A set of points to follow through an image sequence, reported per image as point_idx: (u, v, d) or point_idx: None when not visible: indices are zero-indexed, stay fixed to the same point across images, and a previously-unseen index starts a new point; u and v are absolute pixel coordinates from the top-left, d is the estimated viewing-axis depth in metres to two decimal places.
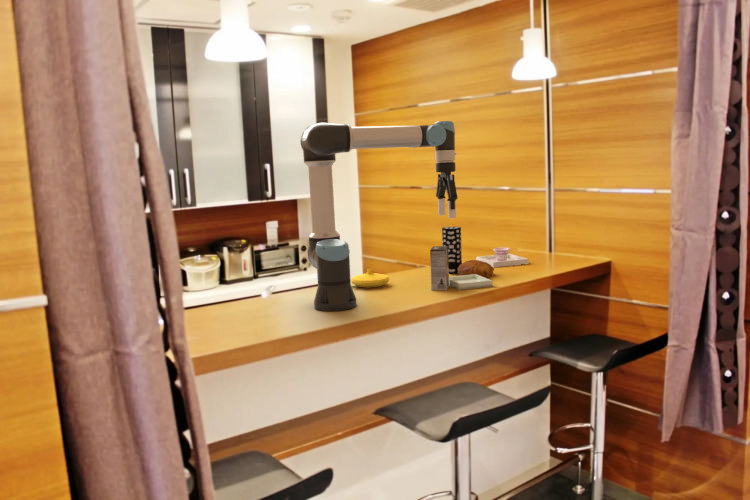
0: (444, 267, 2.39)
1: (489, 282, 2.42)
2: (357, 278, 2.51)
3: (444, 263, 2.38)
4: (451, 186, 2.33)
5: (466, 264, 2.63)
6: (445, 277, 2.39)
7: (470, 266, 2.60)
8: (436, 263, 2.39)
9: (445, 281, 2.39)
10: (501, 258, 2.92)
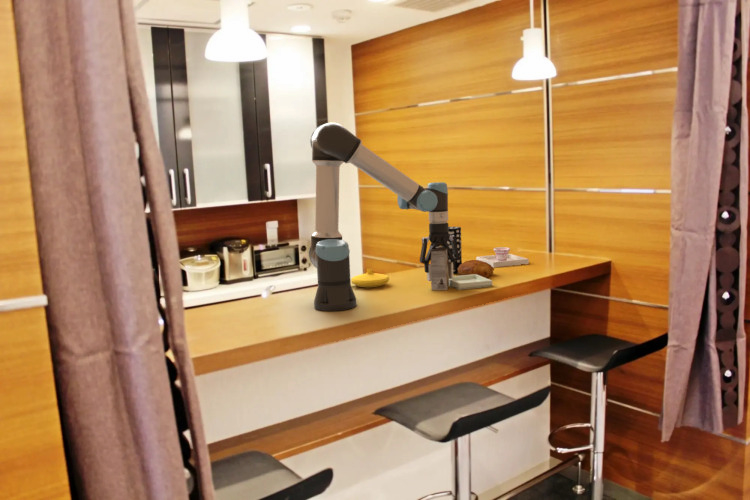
0: (444, 267, 2.39)
1: (489, 282, 2.42)
2: (357, 278, 2.51)
3: (444, 263, 2.38)
4: (422, 249, 2.41)
5: (466, 264, 2.63)
6: (445, 277, 2.39)
7: (470, 266, 2.60)
8: (436, 263, 2.39)
9: (445, 281, 2.39)
10: (501, 258, 2.92)
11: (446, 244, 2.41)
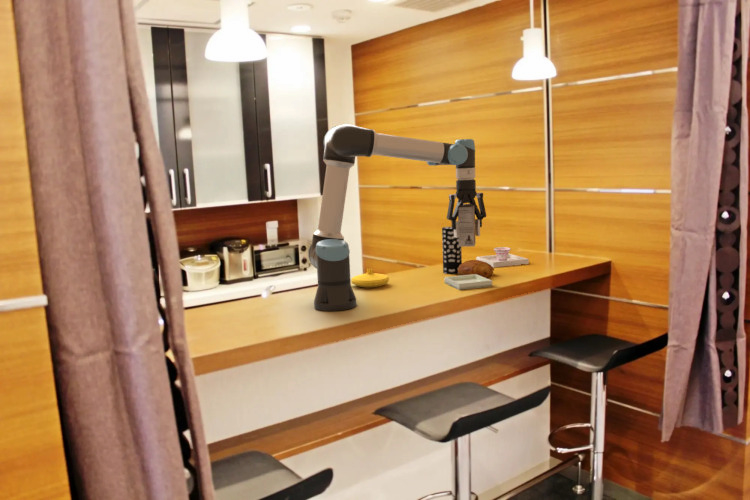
0: (471, 223, 2.40)
1: (489, 282, 2.42)
2: (357, 278, 2.51)
3: (472, 219, 2.40)
4: (449, 206, 2.42)
5: (466, 264, 2.63)
6: (472, 233, 2.41)
7: (470, 266, 2.61)
8: (463, 219, 2.40)
9: (472, 237, 2.41)
10: (502, 258, 2.92)
11: (473, 201, 2.42)
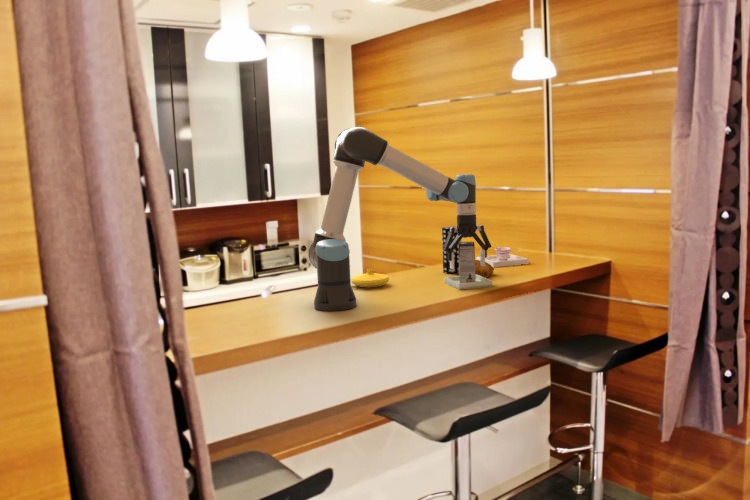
0: (472, 262, 2.42)
1: (489, 282, 2.42)
2: (357, 278, 2.51)
3: (472, 258, 2.42)
4: (447, 238, 2.44)
5: None
6: (473, 272, 2.43)
7: None
8: (464, 258, 2.42)
9: (473, 276, 2.43)
10: (503, 258, 2.92)
11: (475, 234, 2.45)
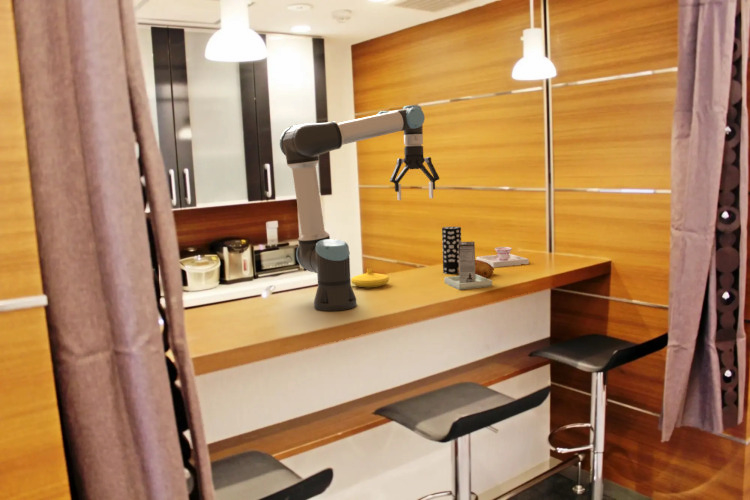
0: (472, 262, 2.42)
1: (489, 282, 2.42)
2: (357, 278, 2.51)
3: (473, 258, 2.42)
4: (394, 169, 2.46)
5: None
6: (473, 272, 2.43)
7: None
8: (465, 258, 2.42)
9: (473, 276, 2.43)
10: (503, 258, 2.93)
11: (422, 166, 2.47)
